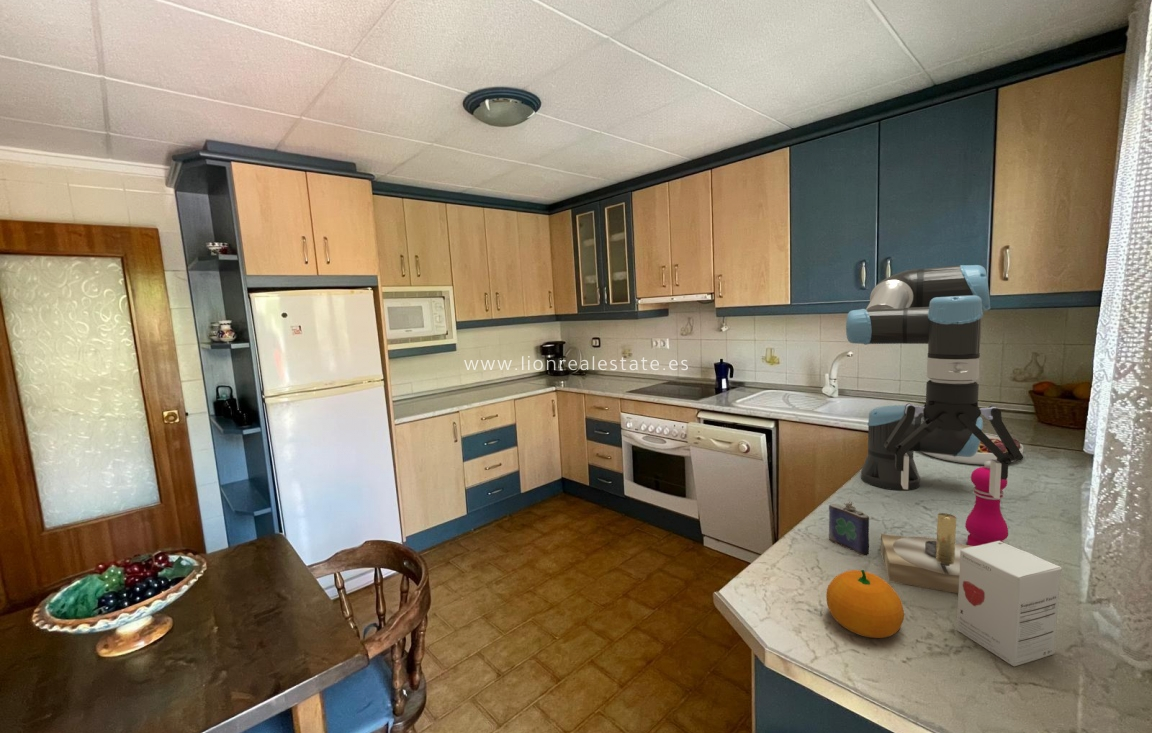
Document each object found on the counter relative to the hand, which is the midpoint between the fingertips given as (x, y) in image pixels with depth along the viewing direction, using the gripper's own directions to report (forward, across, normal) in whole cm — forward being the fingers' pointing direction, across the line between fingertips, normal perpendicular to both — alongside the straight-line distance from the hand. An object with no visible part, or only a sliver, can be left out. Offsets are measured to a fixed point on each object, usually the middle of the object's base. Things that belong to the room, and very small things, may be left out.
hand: (947, 491), depth 88 cm
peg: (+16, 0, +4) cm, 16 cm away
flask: (+20, -15, +13) cm, 28 cm away
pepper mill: (+20, +12, +22) cm, 32 cm away
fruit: (+21, -15, -16) cm, 30 cm away
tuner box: (+20, 0, +6) cm, 21 cm away
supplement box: (+20, +5, -13) cm, 25 cm away
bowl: (+20, +26, +96) cm, 102 cm away
